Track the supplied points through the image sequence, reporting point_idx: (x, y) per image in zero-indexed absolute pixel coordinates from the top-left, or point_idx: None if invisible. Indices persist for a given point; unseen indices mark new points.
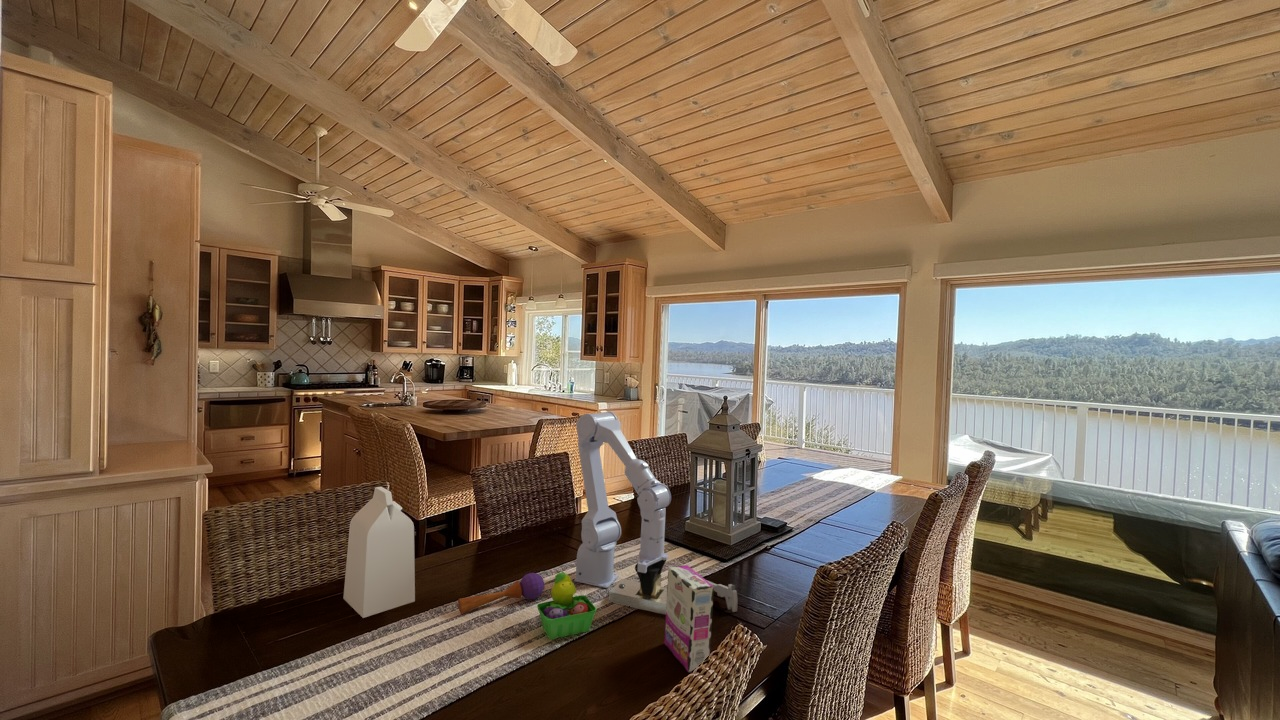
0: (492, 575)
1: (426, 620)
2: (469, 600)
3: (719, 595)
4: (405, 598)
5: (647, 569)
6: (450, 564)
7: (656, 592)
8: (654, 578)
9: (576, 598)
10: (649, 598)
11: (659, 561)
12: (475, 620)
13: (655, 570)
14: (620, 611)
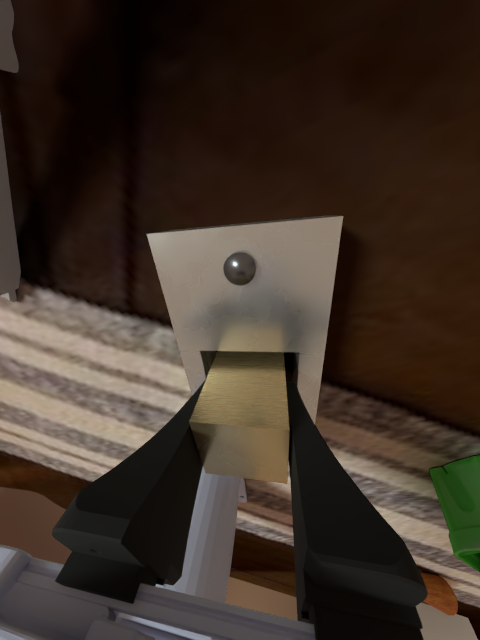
0: (290, 560)
1: (467, 592)
2: (445, 606)
3: (8, 39)
4: (423, 615)
5: (415, 629)
6: (284, 582)
7: (271, 373)
8: (321, 466)
9: (468, 555)
10: (304, 378)
11: (148, 536)
12: (459, 566)
13: (390, 585)
14: (347, 411)
